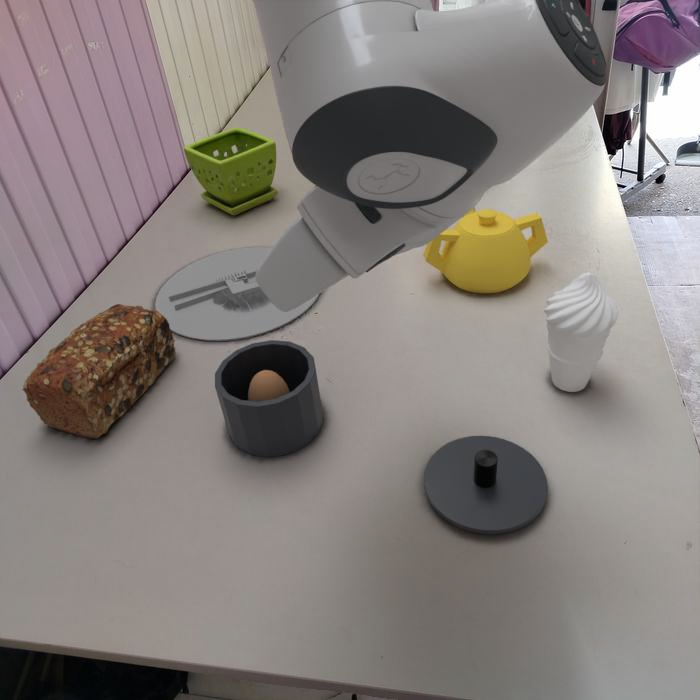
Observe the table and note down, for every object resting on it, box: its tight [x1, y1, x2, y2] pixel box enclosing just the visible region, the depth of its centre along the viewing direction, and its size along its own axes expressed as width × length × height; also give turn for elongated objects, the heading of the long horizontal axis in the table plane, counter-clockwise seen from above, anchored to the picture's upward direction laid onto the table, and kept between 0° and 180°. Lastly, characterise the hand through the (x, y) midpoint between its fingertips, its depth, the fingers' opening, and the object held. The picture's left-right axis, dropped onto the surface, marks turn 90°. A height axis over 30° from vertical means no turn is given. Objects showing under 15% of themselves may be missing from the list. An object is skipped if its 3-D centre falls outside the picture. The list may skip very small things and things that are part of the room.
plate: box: [154, 246, 321, 342], centre depth 106 cm, size 28×28×1 cm
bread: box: [21, 303, 176, 439], centre depth 86 cm, size 19×11×10 cm, turn 158°
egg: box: [248, 370, 290, 402], centre depth 78 cm, size 5×5×8 cm
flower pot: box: [183, 127, 278, 216], centre depth 130 cm, size 14×14×13 cm
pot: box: [214, 339, 324, 458], centre depth 78 cm, size 12×12×8 cm
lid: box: [423, 435, 549, 535], centre depth 69 cm, size 13×13×5 cm
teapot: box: [422, 206, 549, 295], centre depth 102 cm, size 20×18×11 cm
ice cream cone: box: [543, 271, 619, 393], centre depth 77 cm, size 8×8×16 cm
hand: (318, 266), depth 57 cm, fingers open, 8 cm apart
